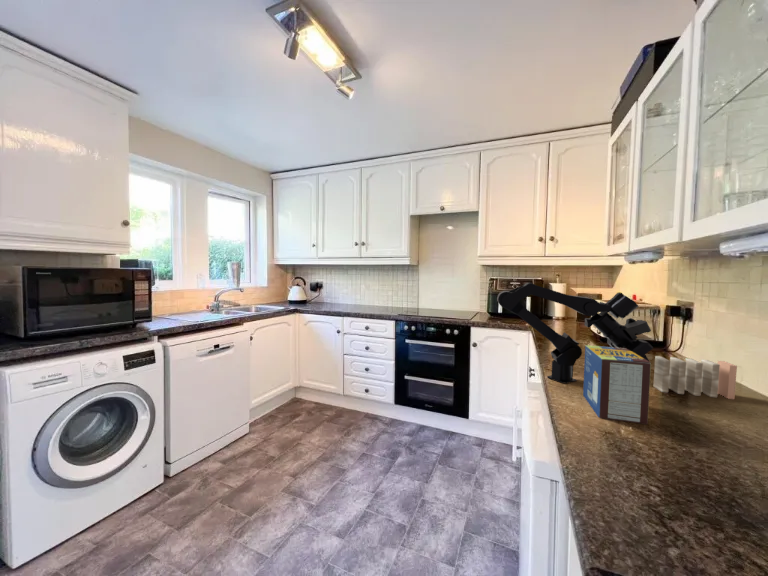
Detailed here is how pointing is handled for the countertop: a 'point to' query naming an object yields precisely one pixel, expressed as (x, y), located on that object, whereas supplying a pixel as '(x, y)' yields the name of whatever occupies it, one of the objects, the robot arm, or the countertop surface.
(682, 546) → the countertop surface
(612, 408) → the protein box
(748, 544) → the countertop surface
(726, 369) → the domino
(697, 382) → the domino
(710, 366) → the domino
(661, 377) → the domino
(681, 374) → the domino
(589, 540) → the countertop surface
